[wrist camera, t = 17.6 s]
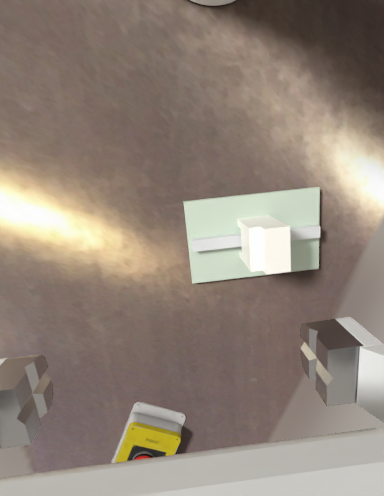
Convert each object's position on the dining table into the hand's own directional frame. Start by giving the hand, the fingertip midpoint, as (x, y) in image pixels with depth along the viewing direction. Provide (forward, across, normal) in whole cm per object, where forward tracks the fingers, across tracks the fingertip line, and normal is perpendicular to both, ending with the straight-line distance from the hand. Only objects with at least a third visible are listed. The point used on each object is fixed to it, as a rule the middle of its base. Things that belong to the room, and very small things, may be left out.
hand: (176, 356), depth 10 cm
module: (+33, -11, +5) cm, 35 cm away
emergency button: (+35, +9, +40) cm, 54 cm away
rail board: (+34, -11, +5) cm, 36 cm away
